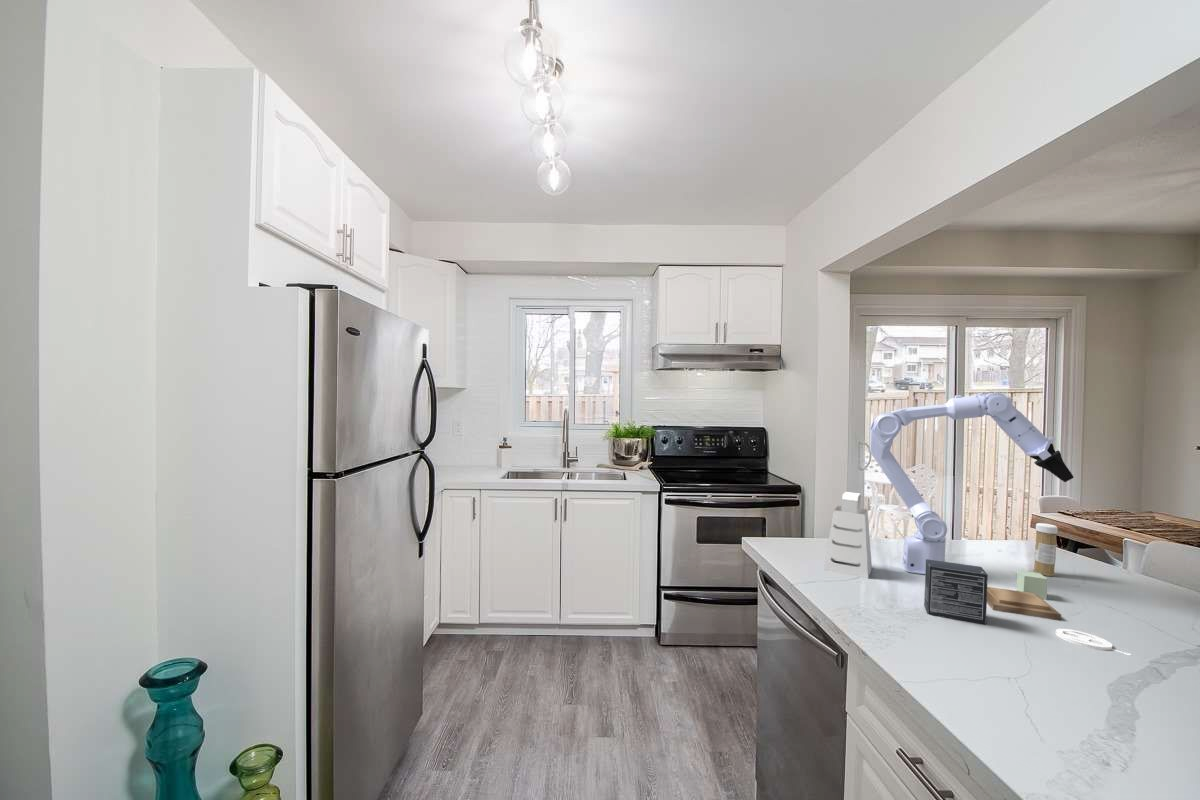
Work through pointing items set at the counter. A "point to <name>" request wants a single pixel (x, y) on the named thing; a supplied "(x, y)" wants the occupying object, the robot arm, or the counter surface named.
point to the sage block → (1032, 583)
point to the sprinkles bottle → (1045, 549)
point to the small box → (956, 591)
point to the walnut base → (1020, 603)
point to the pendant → (1085, 640)
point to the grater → (849, 538)
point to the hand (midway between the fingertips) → (1066, 475)
